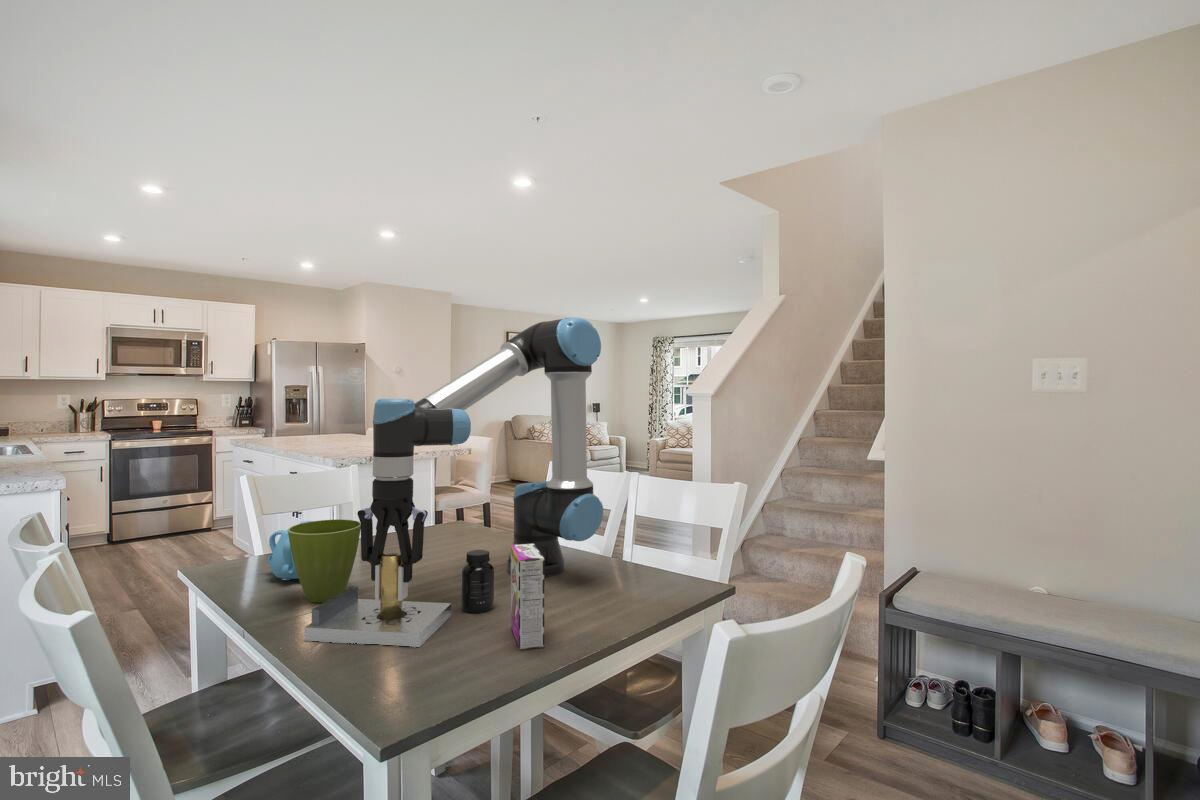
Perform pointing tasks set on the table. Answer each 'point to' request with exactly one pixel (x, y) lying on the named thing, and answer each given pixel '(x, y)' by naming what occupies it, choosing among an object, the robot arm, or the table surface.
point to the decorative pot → (282, 556)
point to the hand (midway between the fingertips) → (391, 597)
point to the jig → (373, 621)
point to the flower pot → (324, 555)
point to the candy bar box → (527, 596)
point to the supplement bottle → (477, 582)
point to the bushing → (390, 586)
